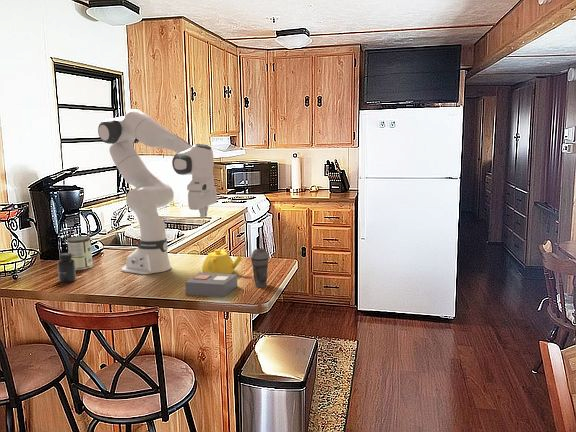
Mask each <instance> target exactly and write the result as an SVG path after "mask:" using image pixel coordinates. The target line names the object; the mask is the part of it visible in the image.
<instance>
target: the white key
mask: <svg viewBox="0 0 576 432" xmlns="http://www.w3.org/2000/svg"><path fill="white" fill-rule="evenodd" d="M228 279H229V277H226V276H217V277H215V278H214V279H213V281H226V280H228Z"/></svg>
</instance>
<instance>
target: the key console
mask: <svg viewBox="0 0 576 432" xmlns="http://www.w3.org/2000/svg"><path fill="white" fill-rule="evenodd" d="M198 275H211V277H210V278H208V279H207V280H196V279H194V278H195V277H197V276H198ZM217 276H226V277H229V279H228V280H226V281H213V279H214V278H215V277H217ZM184 286H185V295H189V296H203V297H214V298H215V297H216V298H225V297H227V296H228V295H229V294H230V293H231V292H233V291H234V290H235V289H236V288H237V287H238V274H233V273H232V274H220V273H204V272H199V273H197V274H196V275H195V276H192V277H191V278H189V279H188V280H186V281H185V283H184Z"/></svg>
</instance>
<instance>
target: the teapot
mask: <svg viewBox="0 0 576 432" xmlns="http://www.w3.org/2000/svg"><path fill="white" fill-rule="evenodd" d="M242 260H243V257H242V256H240V255H238V256H237V257H236V258H235V259H234V261H233V259H232V257H231V256H230V255H229V253H228V251H227V249H223V248H222V249H219V248H217V249H214V251H212V252H209V253H208V254H207V255H206V257H205V258H204V261H203V263H202V269H201V271H202V272H204V273H220V274H233V273H234V272H235V270H236V269H235V268H237V267H238V265H240V262H242Z"/></svg>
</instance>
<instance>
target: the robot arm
mask: <svg viewBox="0 0 576 432" xmlns="http://www.w3.org/2000/svg"><path fill="white" fill-rule="evenodd" d="M97 127H98V128H97V131H98V132H97V133H98V134H97V135H98V136H99V139H100V140H101V141H102V142H103V143H105V144H109V145H110V146H109V149H108V150H109V155H110V156H111V159H112V161H113V162H114V165H115V166H116V168H117V170H118V172H119V173H120V175H121V176H122V177H123V179H124V180H125V182H126V183H127V184H129V185H131V186H132V187H134V188H132V189H130V190H129V191H128V193H127V194H126V197H125V200H126V201H125V202H126V204H127V206H128V208H129V209H130V210H131V211H133V212H134V214H135V215H136V217H137V220H138V223H139V232H140V239H139V240H138V241H135V243H136V244H135V245H138V246H137V248H136V249H135V250H133V251H132V252H131V253H130V254H129V255H127V256H126V257H127V258H126V263H125V265H123V266H122V267H121V272H124V273H133V274H139V275H150V274H154V273H155V274H157V273H162V272H166V271H169V270H170V269H172V265H171V262H170V259H169V255H168V254H169V253H168V238H167V235H166V234H167V233H166V223H165V220H164V219H163V218H162V217H161V216H159V213H158V208H159V209H160V208H163V207H166V206H167V205H169V204H171V202H173V200H174V197H175V195H174V193H175V192H174V190H173V189H172V186H170V185H169V184H167V183H165V182H163V181H162V180H160V179H159V178H158V177H156V175H154V174H153V173H152V172H151V171H150V170H149V169H148V168H147V166H146V165H145V163H144V161H143V160H142V158H141V157H140V155H139V154H138V153H137V151H136V150H135V147H134V144H138V143H139V142H140V143H141V144H143V145H145V146H147V147H149V148H158V149H165V150H166V149H167V150H171V151H173V152H175V155H174V156H173V157H172V161H171V162H172V168H173V171H174V173H176V174H178V175H182V176H188V175H189V176H190V175H192V176H191V180H190V182H189V183H188V184H187V186H186V190H187V191H188V193H187V203H188V208H189V210H192V211H194V210H195V211H197V210H198V212H199V216H200V217H199V218H202V219H203V218H206V217H207V216H208V210H209V206H211V205H214V204H216V203H217V200H218V197H217V188H216V186H215V177H214V171H213V170H214V167H215V163H214V162H215V161H214V153H213V152H214V151H213V149H212V147H211V146H210V145H208V144H202V143H195V144H193V145H191V144H190V143H189V142H187V141H186V140H184V139H183V138H181V137H179V136H178V135H176V134H175V133H173V132H171V131H170V130H168V129H167V128H165V127H164V126H162V125H161V124H160V123H159V122H157V121H156V120H154V118H152V117H151V116H150V115H148V114H146V113H145V112H143V111H141V110H140V109H139V110H138V109H136V108H135V109H130V110H128V111H127V112H126V113H125V115H124V116H118V117H113V118H108V119H104V120H103V121H101V122H100V123H99V124H98V126H97Z"/></svg>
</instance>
